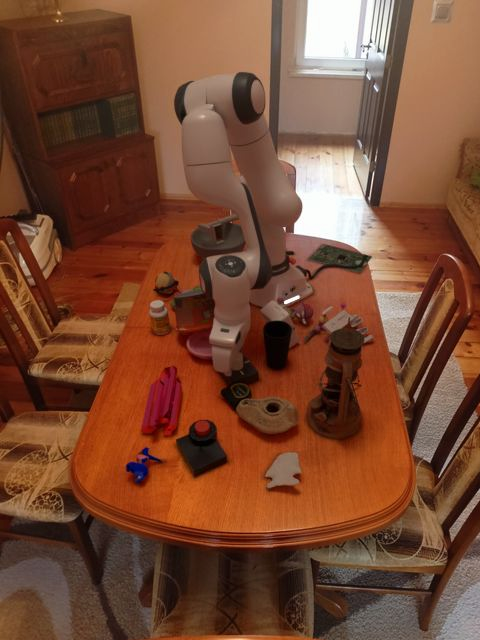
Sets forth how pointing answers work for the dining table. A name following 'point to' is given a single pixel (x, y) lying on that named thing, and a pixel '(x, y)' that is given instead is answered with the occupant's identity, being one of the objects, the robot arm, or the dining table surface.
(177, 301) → the food container
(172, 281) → the toy
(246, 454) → the dining table surface
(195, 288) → the toy food set
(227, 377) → the dial panel
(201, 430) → the red button
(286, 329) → the cup
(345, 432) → the lantern
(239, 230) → the bowl
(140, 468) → the figurine
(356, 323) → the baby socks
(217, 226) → the toilet paper hanger
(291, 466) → the arrowhead
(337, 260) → the circuit board
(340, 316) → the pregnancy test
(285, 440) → the dining table surface
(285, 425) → the oil lamp
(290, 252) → the knife
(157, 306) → the supplement bottle
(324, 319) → the candy
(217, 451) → the button box
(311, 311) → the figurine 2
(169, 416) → the crystal
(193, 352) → the saucer
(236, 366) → the dial knob
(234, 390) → the tape measure
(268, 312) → the ink box
